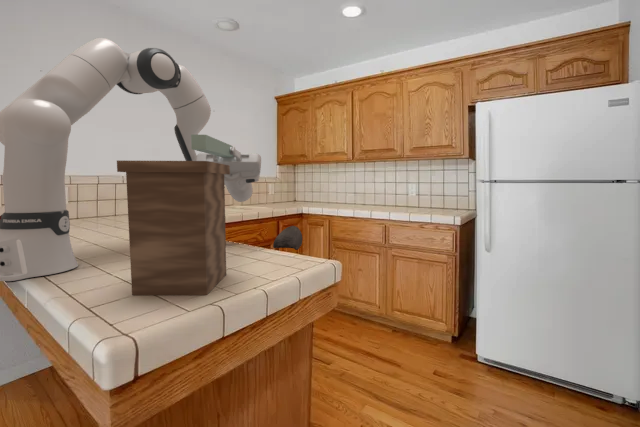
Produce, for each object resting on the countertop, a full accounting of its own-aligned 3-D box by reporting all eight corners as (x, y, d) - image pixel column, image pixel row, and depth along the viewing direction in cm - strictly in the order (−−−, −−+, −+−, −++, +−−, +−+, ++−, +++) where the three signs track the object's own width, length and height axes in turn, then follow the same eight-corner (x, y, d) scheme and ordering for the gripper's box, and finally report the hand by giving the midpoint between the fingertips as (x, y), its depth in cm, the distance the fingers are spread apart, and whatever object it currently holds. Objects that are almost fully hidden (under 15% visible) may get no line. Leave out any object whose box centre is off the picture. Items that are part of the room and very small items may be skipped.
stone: (280, 263, 104) (302, 242, 102) (264, 242, 107) (286, 221, 105) (292, 261, 114) (313, 241, 112) (278, 241, 116) (298, 222, 114)
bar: (206, 149, 79) (205, 134, 78) (191, 149, 79) (191, 134, 78) (233, 157, 105) (232, 146, 104) (222, 157, 105) (221, 146, 104)
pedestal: (210, 296, 62) (206, 160, 60) (123, 296, 62) (116, 160, 60) (231, 273, 78) (229, 165, 76) (162, 273, 78) (158, 165, 76)
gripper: (204, 164, 114) (190, 140, 101) (264, 165, 114) (258, 140, 102) (201, 181, 111) (187, 157, 99) (263, 181, 112) (256, 157, 99)
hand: (223, 148), depth 100 cm, fingers closed on bar, 3 cm apart
